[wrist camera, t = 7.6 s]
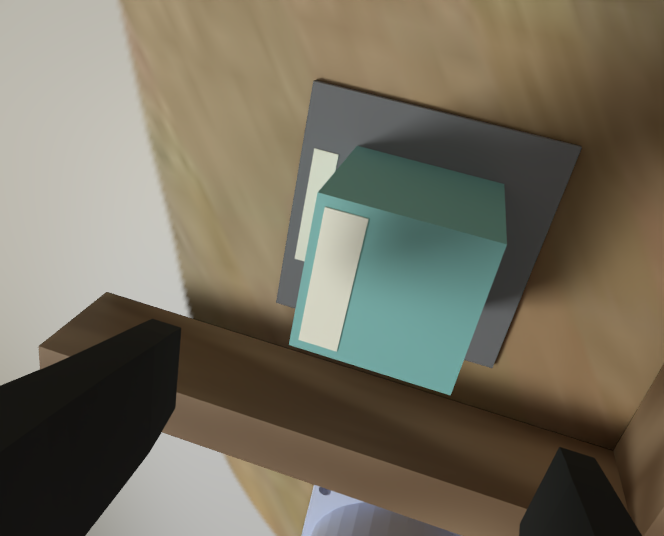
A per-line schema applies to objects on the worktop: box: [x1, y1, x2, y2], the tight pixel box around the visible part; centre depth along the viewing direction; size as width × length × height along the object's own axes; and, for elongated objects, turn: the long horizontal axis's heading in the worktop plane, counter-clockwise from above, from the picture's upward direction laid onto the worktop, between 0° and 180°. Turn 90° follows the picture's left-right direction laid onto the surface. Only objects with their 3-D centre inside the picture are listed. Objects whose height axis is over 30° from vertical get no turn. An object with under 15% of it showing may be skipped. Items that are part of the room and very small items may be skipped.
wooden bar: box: [39, 292, 629, 536], centre depth 21 cm, size 2×22×4 cm, turn 79°
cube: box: [289, 146, 507, 395], centre depth 17 cm, size 5×5×5 cm
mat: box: [276, 80, 582, 368], centre depth 19 cm, size 8×8×1 cm
